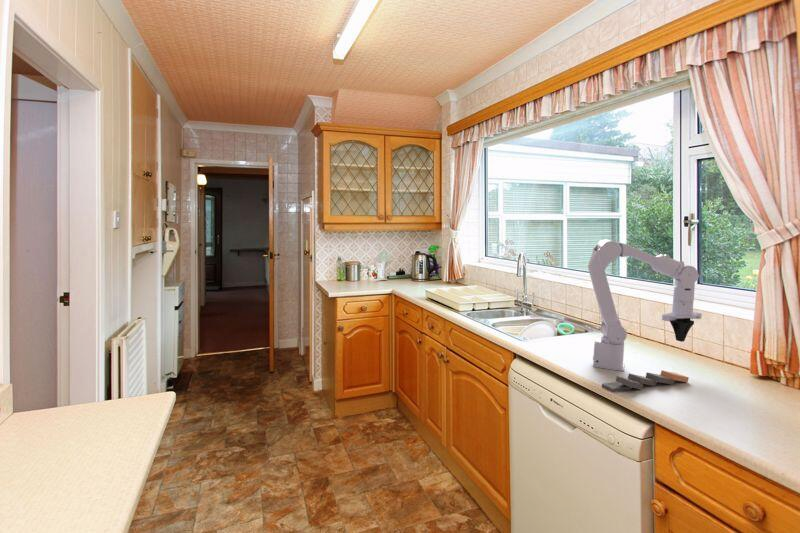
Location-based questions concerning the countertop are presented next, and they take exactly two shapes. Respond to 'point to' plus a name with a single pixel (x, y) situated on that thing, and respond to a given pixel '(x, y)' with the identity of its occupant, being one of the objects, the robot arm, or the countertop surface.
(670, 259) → the robot arm
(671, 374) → the domino
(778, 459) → the countertop surface
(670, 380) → the domino
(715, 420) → the countertop surface
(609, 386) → the domino
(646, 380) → the domino
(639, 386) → the domino
